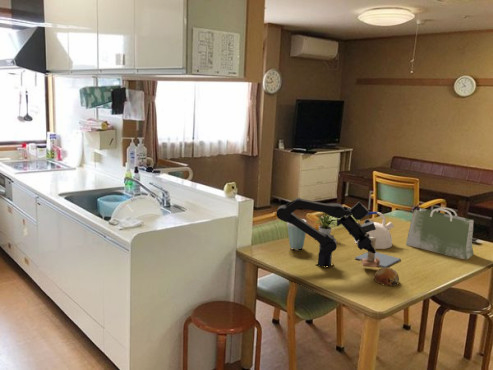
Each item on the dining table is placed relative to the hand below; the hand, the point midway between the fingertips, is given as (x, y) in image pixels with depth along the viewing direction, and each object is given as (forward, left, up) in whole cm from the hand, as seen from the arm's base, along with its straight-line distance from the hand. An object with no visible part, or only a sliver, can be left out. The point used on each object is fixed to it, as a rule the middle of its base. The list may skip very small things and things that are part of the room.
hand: (374, 251), depth 203 cm
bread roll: (-8, -11, -9) cm, 17 cm away
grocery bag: (+56, -9, -9) cm, 57 cm away
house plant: (+22, +43, -9) cm, 49 cm away
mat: (+14, +5, -9) cm, 17 cm away
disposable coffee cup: (-4, +42, -9) cm, 43 cm away
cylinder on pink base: (-1, +1, -7) cm, 7 cm away
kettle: (+37, +20, -9) cm, 43 cm away
